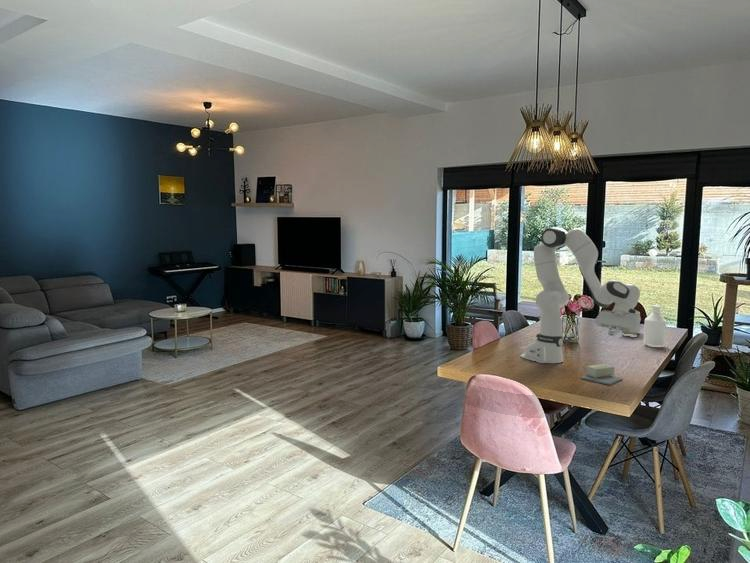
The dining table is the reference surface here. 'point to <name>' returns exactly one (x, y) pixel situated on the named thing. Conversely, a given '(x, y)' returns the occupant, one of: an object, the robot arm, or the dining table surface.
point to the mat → (602, 379)
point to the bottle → (655, 327)
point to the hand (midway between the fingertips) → (611, 334)
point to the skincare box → (600, 370)
